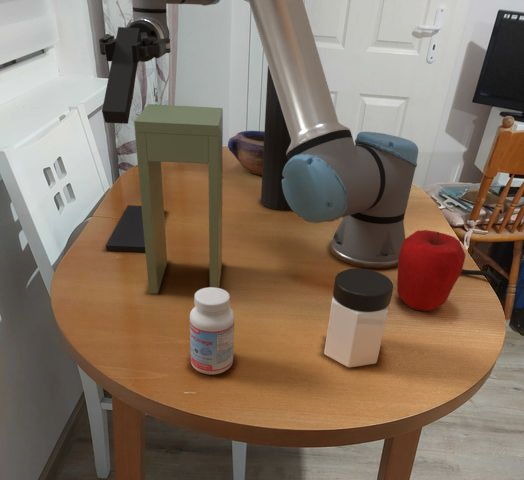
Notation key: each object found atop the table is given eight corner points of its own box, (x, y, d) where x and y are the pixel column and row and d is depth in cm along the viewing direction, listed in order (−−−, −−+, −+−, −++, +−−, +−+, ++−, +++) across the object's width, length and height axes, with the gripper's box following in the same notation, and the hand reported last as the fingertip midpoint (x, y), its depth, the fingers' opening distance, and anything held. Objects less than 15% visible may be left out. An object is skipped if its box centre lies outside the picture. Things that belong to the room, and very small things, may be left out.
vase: (309, 208, 127) (324, 70, 109) (272, 212, 123) (281, 71, 106) (289, 194, 134) (300, 63, 117) (254, 198, 131) (260, 63, 113)
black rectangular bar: (120, 39, 100) (118, 26, 98) (141, 40, 100) (139, 27, 98) (105, 122, 91) (101, 111, 89) (128, 123, 91) (125, 112, 89)
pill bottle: (182, 361, 74) (178, 293, 68) (214, 345, 78) (214, 279, 71) (209, 382, 71) (208, 312, 64) (242, 364, 75) (244, 296, 68)
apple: (378, 294, 94) (393, 222, 86) (425, 286, 97) (443, 217, 89) (411, 324, 86) (430, 249, 78) (461, 315, 89) (485, 242, 81)
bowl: (306, 170, 152) (310, 134, 146) (275, 185, 139) (277, 147, 133) (255, 158, 159) (256, 123, 153) (221, 171, 146) (221, 134, 141)
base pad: (128, 210, 120) (127, 205, 119) (162, 211, 120) (162, 206, 120) (106, 250, 102) (105, 245, 101) (147, 252, 102) (146, 247, 102)
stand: (159, 262, 99) (147, 103, 83) (221, 264, 100) (222, 107, 83) (149, 293, 90) (133, 121, 73) (218, 295, 90) (218, 125, 74)
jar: (390, 352, 79) (407, 283, 72) (360, 375, 74) (375, 303, 67) (343, 328, 84) (354, 261, 77) (311, 349, 79) (321, 278, 72)
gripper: (184, 62, 114) (170, 79, 95) (106, 57, 114) (76, 74, 95) (182, 22, 110) (168, 31, 91) (101, 17, 109) (69, 26, 90)
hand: (121, 53), depth 93 cm, fingers closed on black rectangular bar, 4 cm apart
